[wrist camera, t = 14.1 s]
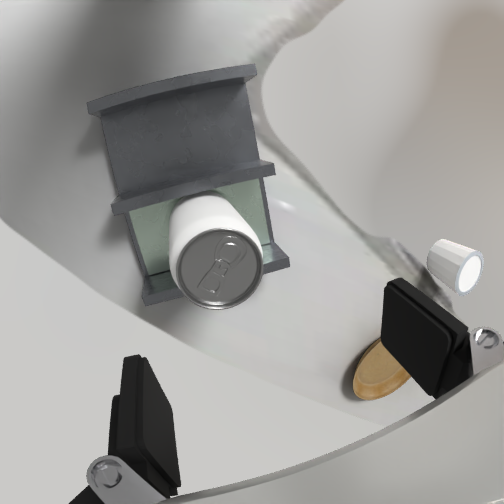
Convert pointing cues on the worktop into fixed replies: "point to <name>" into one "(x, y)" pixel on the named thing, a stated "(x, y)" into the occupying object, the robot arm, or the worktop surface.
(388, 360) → the plant saucer
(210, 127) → the grey ribbed shelf
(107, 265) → the worktop surface
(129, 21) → the worktop surface
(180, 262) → the can
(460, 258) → the white cup
